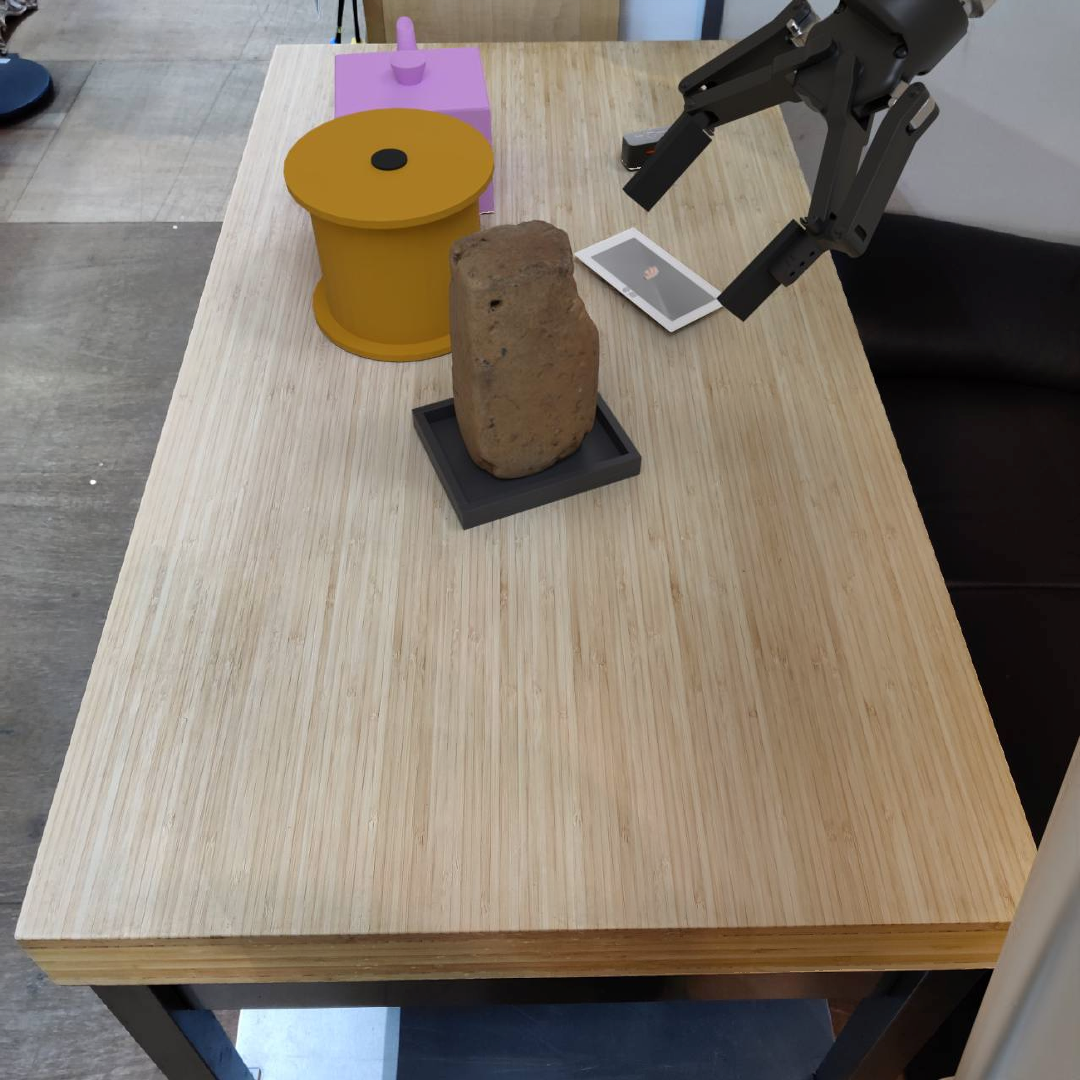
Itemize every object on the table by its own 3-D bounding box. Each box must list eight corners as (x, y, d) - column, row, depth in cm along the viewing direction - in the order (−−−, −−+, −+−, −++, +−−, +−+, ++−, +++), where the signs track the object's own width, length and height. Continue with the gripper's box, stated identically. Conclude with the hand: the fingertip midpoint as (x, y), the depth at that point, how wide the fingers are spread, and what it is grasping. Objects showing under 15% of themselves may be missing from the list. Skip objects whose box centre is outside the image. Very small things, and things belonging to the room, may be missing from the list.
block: (477, 493, 80) (463, 289, 64) (451, 430, 84) (433, 226, 68) (602, 461, 82) (618, 257, 66) (570, 402, 86) (579, 197, 71)
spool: (481, 236, 103) (474, 96, 91) (515, 347, 92) (512, 204, 80) (307, 257, 100) (277, 116, 88) (320, 374, 89) (288, 230, 77)
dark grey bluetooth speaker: (686, 162, 112) (690, 135, 109) (628, 173, 110) (630, 146, 108) (670, 142, 114) (673, 115, 112) (613, 152, 113) (614, 125, 110)
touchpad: (632, 236, 103) (633, 218, 101) (730, 310, 95) (734, 291, 93) (572, 262, 100) (573, 244, 98) (669, 341, 92) (672, 323, 91)
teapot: (477, 117, 118) (472, -6, 107) (498, 240, 102) (494, 109, 91) (350, 125, 116) (331, 1, 105) (352, 250, 101) (329, 119, 90)
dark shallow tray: (640, 474, 82) (642, 456, 80) (463, 530, 78) (462, 513, 76) (577, 379, 89) (578, 361, 87) (413, 426, 85) (411, 408, 83)
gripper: (1094, 112, 54) (804, 386, 62) (839, -54, 69) (630, 186, 77) (1058, 29, 49) (746, 341, 57) (789, -132, 63) (570, 135, 71)
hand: (679, 253), depth 67 cm, fingers open, 13 cm apart
